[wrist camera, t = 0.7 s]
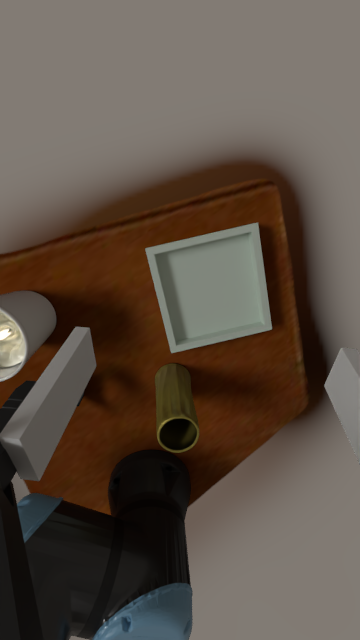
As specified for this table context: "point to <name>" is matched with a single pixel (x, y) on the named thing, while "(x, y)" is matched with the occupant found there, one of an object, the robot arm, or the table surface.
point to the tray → (211, 287)
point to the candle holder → (22, 328)
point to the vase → (175, 409)
